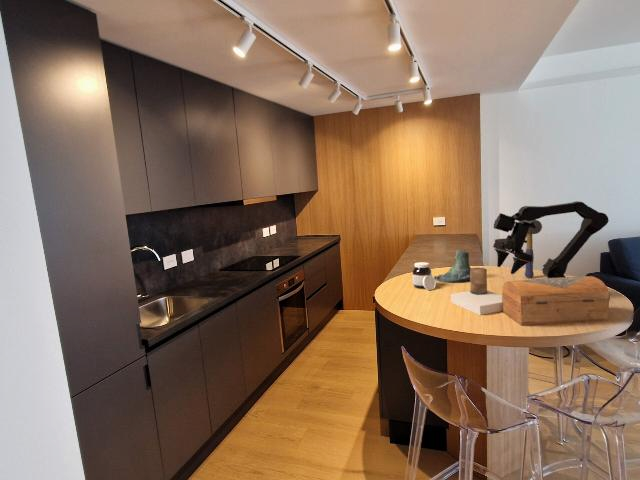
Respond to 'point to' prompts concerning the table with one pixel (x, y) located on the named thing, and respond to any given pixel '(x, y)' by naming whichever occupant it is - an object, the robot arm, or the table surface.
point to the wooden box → (556, 300)
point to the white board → (478, 302)
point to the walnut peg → (478, 281)
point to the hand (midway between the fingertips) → (505, 270)
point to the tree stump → (457, 269)
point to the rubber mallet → (529, 249)
